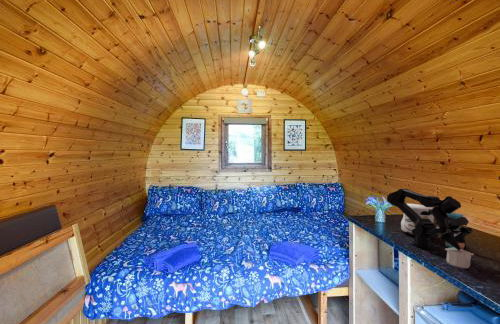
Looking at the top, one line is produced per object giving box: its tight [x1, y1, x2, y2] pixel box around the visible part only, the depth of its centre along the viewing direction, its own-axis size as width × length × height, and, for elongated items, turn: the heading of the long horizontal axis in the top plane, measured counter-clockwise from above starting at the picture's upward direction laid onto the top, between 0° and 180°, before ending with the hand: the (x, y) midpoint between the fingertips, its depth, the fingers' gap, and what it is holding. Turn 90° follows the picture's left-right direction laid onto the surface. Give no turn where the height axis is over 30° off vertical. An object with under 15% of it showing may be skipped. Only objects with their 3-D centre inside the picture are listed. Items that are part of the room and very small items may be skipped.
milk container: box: [400, 203, 435, 237], centre depth 151 cm, size 17×17×18 cm
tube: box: [444, 212, 464, 248], centre depth 133 cm, size 7×5×19 cm, turn 47°
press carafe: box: [444, 247, 475, 269], centre depth 112 cm, size 8×10×6 cm
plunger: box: [457, 241, 466, 252], centre depth 112 cm, size 5×5×9 cm
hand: (462, 249), depth 110 cm, fingers closed on plunger, 3 cm apart
